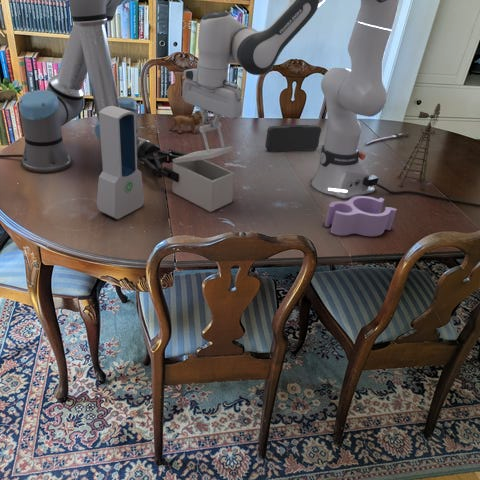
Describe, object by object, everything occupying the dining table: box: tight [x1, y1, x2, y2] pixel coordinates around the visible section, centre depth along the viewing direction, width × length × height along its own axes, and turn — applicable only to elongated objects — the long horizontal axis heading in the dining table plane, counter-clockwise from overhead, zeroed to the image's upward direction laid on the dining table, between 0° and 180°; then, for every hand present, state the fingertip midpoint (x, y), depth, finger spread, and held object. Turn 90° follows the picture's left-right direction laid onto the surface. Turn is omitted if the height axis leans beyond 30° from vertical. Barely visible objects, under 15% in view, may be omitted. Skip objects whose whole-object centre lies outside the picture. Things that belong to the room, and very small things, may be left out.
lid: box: [172, 120, 236, 164], centre depth 141 cm, size 18×10×9 cm, turn 49°
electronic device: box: [96, 106, 145, 220], centre depth 130 cm, size 12×8×30 cm, turn 148°
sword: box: [366, 133, 410, 146], centre depth 213 cm, size 31×3×1 cm, turn 126°
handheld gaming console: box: [264, 124, 322, 152], centre depth 189 cm, size 23×3×10 cm, turn 108°
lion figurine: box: [168, 109, 203, 134], centre depth 195 cm, size 15×5×9 cm, turn 110°
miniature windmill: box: [398, 102, 441, 191], centre depth 166 cm, size 9×8×30 cm
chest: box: [171, 159, 236, 213], centre depth 147 cm, size 17×10×10 cm, turn 50°
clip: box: [324, 195, 398, 237], centre depth 141 cm, size 20×12×7 cm, turn 109°
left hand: (190, 173), depth 150 cm, fingers closed on chest, 10 cm apart
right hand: (210, 125), depth 136 cm, fingers closed, pressing on lid
